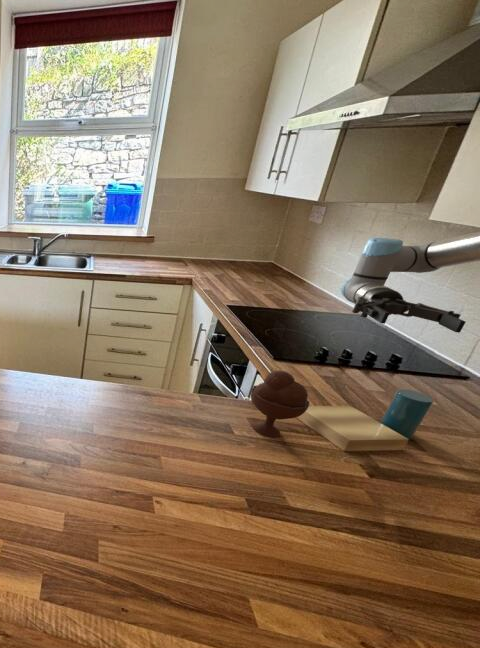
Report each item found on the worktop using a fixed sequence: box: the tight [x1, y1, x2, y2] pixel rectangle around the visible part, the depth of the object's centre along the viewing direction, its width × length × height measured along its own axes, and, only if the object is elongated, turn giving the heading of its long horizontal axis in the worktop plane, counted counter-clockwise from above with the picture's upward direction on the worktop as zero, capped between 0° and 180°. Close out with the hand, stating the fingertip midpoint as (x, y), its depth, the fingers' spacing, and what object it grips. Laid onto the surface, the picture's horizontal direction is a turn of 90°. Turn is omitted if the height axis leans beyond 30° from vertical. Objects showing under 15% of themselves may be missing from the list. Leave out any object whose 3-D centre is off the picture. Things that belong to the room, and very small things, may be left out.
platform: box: [295, 405, 410, 452], centre depth 95 cm, size 14×14×3 cm
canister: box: [379, 388, 435, 440], centre depth 94 cm, size 6×6×10 cm
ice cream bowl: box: [250, 370, 310, 439], centre depth 92 cm, size 11×11×15 cm
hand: (422, 322), depth 95 cm, fingers open, 13 cm apart
